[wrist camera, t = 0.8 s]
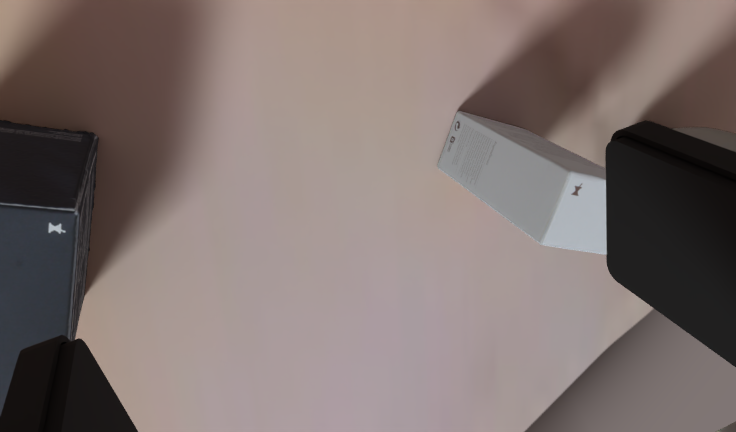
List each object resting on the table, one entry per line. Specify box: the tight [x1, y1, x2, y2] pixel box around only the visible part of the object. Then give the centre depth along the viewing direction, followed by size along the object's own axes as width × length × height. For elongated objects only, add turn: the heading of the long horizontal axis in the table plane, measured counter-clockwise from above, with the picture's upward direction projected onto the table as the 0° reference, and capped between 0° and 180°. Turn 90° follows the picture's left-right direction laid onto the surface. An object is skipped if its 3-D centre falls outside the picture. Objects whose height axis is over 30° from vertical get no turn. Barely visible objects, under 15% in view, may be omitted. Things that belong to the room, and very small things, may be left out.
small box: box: [0, 120, 99, 416], centre depth 28 cm, size 11×6×10 cm, turn 165°
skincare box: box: [438, 111, 607, 255], centre depth 35 cm, size 6×4×12 cm
